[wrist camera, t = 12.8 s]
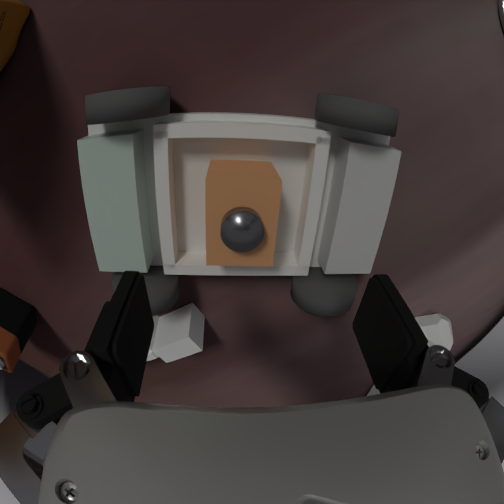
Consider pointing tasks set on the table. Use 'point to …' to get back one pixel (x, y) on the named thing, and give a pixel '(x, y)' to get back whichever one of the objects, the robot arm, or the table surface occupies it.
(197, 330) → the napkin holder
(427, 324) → the crystal
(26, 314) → the battery
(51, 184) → the table surface
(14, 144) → the table surface
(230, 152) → the chassis
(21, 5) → the coffee package
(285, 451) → the robot arm
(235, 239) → the box with black knob
